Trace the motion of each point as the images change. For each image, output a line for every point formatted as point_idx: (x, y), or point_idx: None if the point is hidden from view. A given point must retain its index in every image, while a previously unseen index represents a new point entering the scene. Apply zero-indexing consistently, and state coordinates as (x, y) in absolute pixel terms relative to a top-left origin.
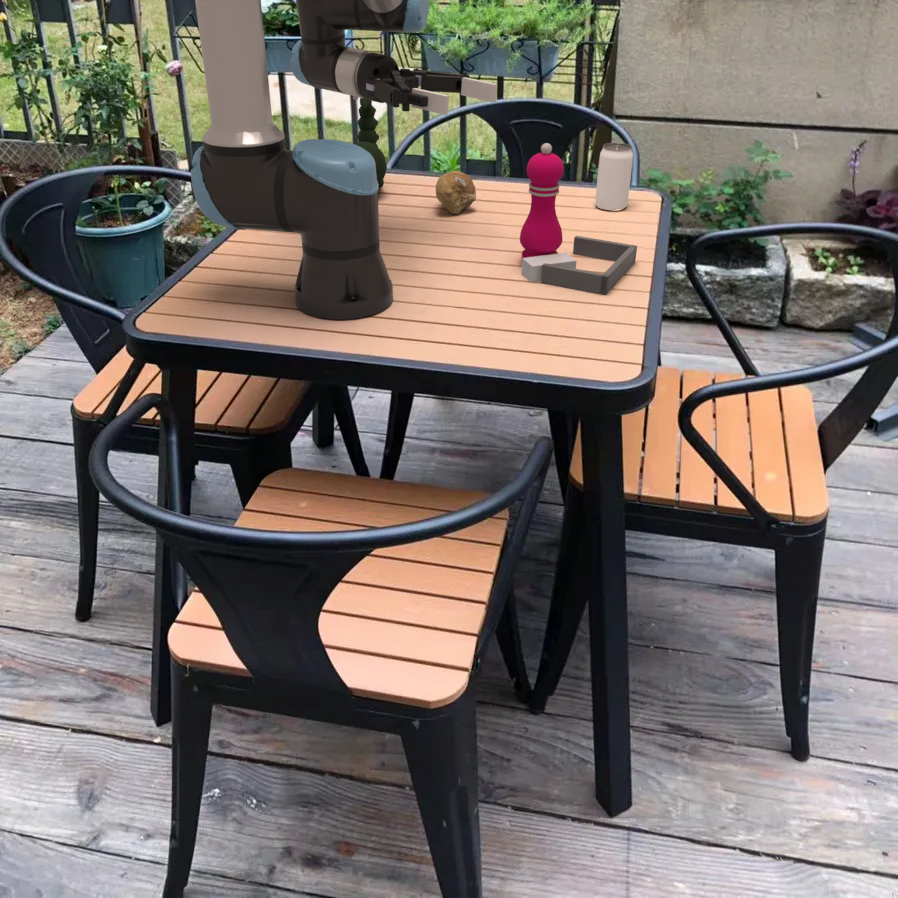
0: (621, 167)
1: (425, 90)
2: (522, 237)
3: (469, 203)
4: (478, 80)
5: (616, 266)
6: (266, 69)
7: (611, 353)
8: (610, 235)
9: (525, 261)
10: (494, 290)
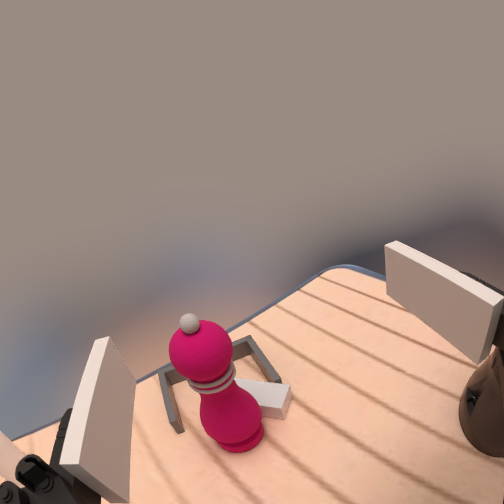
0: (3, 435)
1: (453, 281)
2: (258, 418)
3: None
4: (80, 396)
5: None
6: None
7: (325, 287)
8: None
9: (284, 401)
10: (344, 393)
